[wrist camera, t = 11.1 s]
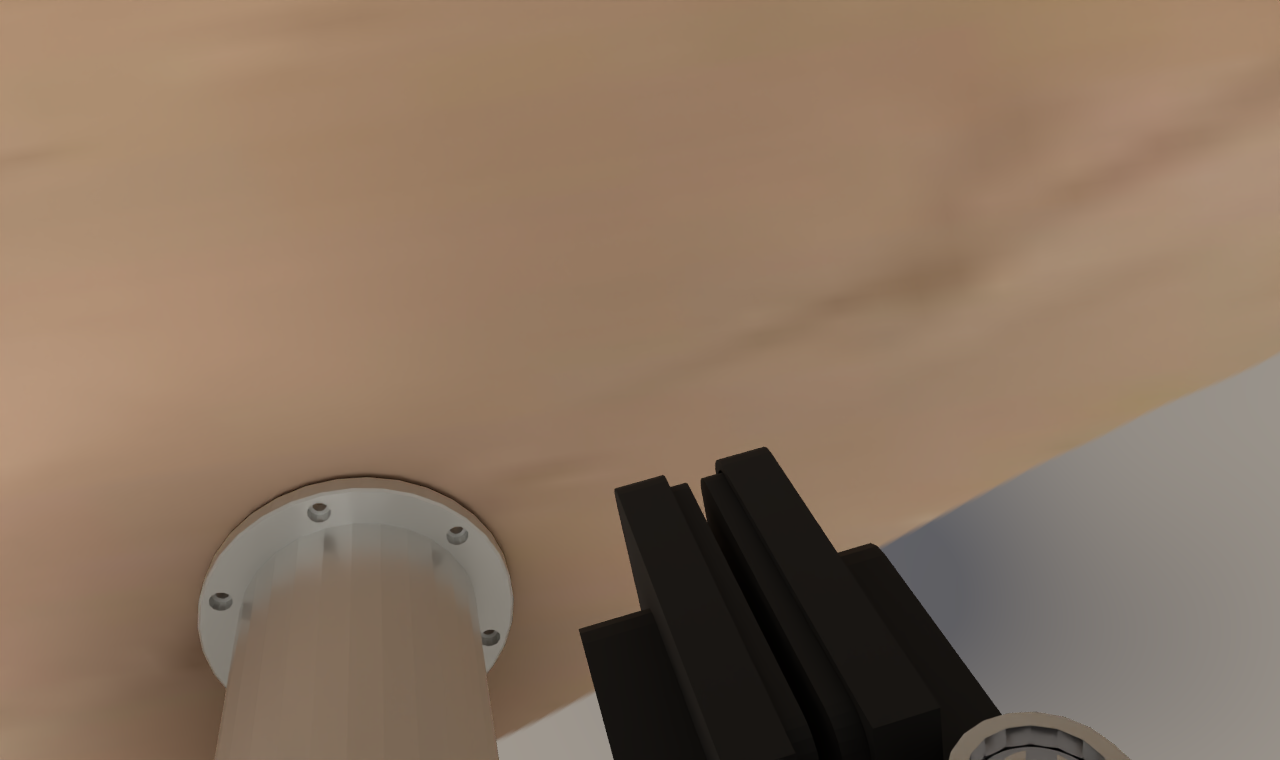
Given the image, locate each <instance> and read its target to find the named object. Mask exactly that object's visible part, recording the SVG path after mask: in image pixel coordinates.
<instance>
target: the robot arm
mask: <svg viewBox="0 0 1280 760" xmlns="http://www.w3.org/2000/svg"><path fill="white" fill-rule="evenodd" d="M715 470H716V474H715V475H712V476H708V477H705V478H701V490H702V496H703V501H704V507H705V512H706V518H707V521H706V519H705V517H704V515H703V513H702V511H701V509H700V507H699V505H698V503H697V501H696V499H695V497H694V495H693V493H692V491H691V489H690V487H689V486H688V484H687V483H683V484H680V485H676V486H673V487H670V486H669V484H668V481H667V480H666V478H665V476H663V475H662V476H658V477H655V478H651V479H647V480H644V481H640V482H637V483H633V484H630V485H626V486H622V487H619V488H615V498H616V502H617V507H618V511H619V516H620V520H621V524H622V529H623V533H624V537H625V542H626V546H627V550H628V555H629V559H630V563H631V568H632V572H633V577H634V581H635V585H636V590H637V594H638V598H639V603H640V607H641V611H639V612H635V613H632V614H628V615H625V616H622V617H618V618H615V619H611V620H608V621H605V622H601V623H598V624H594V625H591V626H588V627H584V628H581V629H579V632H580V636H581V639H582V643H583V647H584V650H585V654H586V658H587V662H588V665H589V669H590V673H591V677H592V680H593V684H594V688H595V691H596V695H597V699H598V703H599V706H600V710H601V714H602V717H603V721H604V725H605V729H606V732H607V736H608V739H609V743H610V747H611V751H612V754H613V758H614V760H1130V758H1129V757H1127V756H1126V755H1125V754H1124V753H1123V752H1122V751H1121V750H1120V749H1119V748H1118V747H1117V746H1116V745H1114V744H1113V743H1112V742H1110V741H1109V740H1108V739H1106V738H1105V737H1103V736H1102V735H1100V734H1099V733H1098V732H1096V731H1095V730H1093V729H1092V728H1090V727H1088V726H1086V725H1083V724H1081V723H1078V722H1075V721H1073V720H1071V719H1068V718H1066V717H1063V716H1057V715H1052V714H1046V713H1039V712H1022V713H1021V712H1020V713H1007V714H1003V715H1002V714H1001V713H1000V712H999V710H998V709H997V707H996V706H995V705H994V704H993V702H992V701H991V699H990V698H989V697H988V695H987V694H986V692H985V691H984V690H983V688H982V687H981V686H980V684H979V683H978V681H977V680H976V679H975V677H974V676H973V675H972V673H971V672H970V670H969V669H968V668H967V666H966V665H965V664H964V663H963V661H962V660H961V658H960V657H959V655H958V654H957V653H956V651H955V650H954V649H953V647H952V646H951V644H950V643H949V642H948V640H947V639H946V638H945V636H944V635H943V633H942V632H941V631H940V629H939V628H938V627H937V625H936V624H935V623H934V621H933V620H932V618H931V617H930V616H929V614H928V613H927V612H926V610H925V609H924V608H923V606H922V605H921V603H920V602H919V601H918V599H917V598H916V596H915V595H914V594H913V592H912V591H911V590H910V588H909V587H908V586H907V584H906V583H905V581H904V580H903V579H902V577H901V576H900V575H899V573H898V572H897V571H896V569H895V568H894V566H893V565H892V564H891V562H890V561H889V560H888V558H887V557H886V556H885V554H884V553H883V552H882V551H881V550H880V549H879V547H878V546H876V545H874V544H872V543H869V544H866V545H863V546H859V547H856V548H852V549H849V550H846V551H842V552H839V553H837V551H836V550H835V548H834V547H833V545H832V544H831V542H830V541H829V539H828V538H827V536H826V535H825V533H824V532H823V530H822V529H821V527H820V526H819V524H818V523H817V521H816V520H815V518H814V517H813V515H812V514H811V512H810V511H809V509H808V508H807V506H806V505H805V503H804V502H803V500H802V499H801V497H800V496H799V494H798V493H797V491H796V490H795V488H794V487H793V485H792V484H791V482H790V481H789V479H788V478H787V476H786V475H785V473H784V472H783V470H782V468H781V467H780V465H779V464H778V462H777V461H776V459H775V458H774V456H773V455H772V453H771V452H770V451H769V450H768V448H766V447H762V448H758V449H754V450H751V451H747V452H744V453H740V454H737V455H733V456H730V457H726V458H722V459H719V460H717V461H716V463H715ZM315 503H322V504H323V505H317V504H315ZM453 527H457V528H453ZM513 601H514V598H513V592H512V585H511V579H510V574H509V571H508V568H507V564H506V561H505V557H504V554H503V553H502V551H501V549H500V547H499V546H498V544H497V542H496V540H495V539H494V537H493V535H492V534H491V533H490V531H489V530H488V529H487V528H486V527H485V526H484V525H483V524H482V523H481V522H480V521H479V519H478V518H477V517H476V516H475V515H474V514H472V513H471V512H469V511H468V510H467V509H465V508H464V507H462V506H461V505H460V504H458V503H457V502H456V501H454V500H453V499H450V498H448V497H446V496H444V495H442V494H440V493H438V492H435V491H433V490H431V489H429V488H426V487H423V486H419V485H415V484H411V483H408V482H404V481H400V480H392V479H382V478H371V477H363V478H347V479H335V480H331V481H326V482H322V483H318V484H313V485H309V486H305V487H303V488H300V489H298V490H295V491H293V492H290V493H288V494H285V495H283V496H280V497H278V498H276V499H274V500H273V501H271V502H270V503H268V504H266V505H265V506H263V507H261V508H260V509H258V510H257V511H255V512H253V513H252V514H251V515H250V516H248V517H247V518H246V519H245V520H244V521H243V522H242V523H241V524H240V525H239V526H238V527H236V528H235V529H234V530H233V531H232V532H231V533H230V534H229V536H228V537H227V538H226V540H225V541H224V542H223V544H222V545H221V547H220V548H219V549H218V551H217V552H216V554H215V555H214V557H213V559H212V562H211V564H210V566H209V569H208V571H207V573H206V576H205V578H204V581H203V586H202V590H201V594H200V599H199V604H198V632H199V637H200V642H201V646H202V651H203V653H204V655H205V657H206V659H207V662H208V664H209V666H210V668H211V670H212V672H213V674H214V675H215V676H216V677H217V679H218V680H219V681H220V682H221V683H222V685H223V686H224V687H225V688H226V693H225V699H224V705H223V711H222V716H221V722H220V728H219V734H218V740H217V746H216V752H215V758H214V760H499V757H498V750H497V743H496V736H495V729H494V722H493V715H492V708H491V701H490V694H489V687H488V680H487V673H488V672H489V671H490V669H491V668H492V667H493V666H494V664H495V662H496V661H497V659H498V657H499V655H500V653H501V651H502V650H503V648H504V646H505V644H506V641H507V637H508V634H509V631H510V627H511V624H512V616H513Z"/></svg>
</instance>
